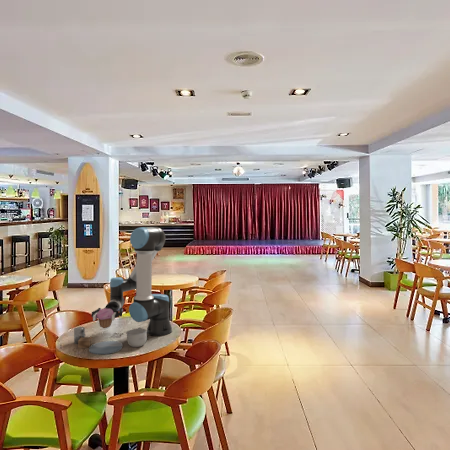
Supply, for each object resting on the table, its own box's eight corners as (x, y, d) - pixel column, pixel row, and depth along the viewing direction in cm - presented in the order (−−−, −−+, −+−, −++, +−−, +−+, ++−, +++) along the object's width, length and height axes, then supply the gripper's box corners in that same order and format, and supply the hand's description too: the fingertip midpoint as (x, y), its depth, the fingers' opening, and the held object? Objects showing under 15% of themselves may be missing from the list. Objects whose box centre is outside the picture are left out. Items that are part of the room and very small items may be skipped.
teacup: (141, 349, 195) (141, 334, 194) (123, 348, 197) (122, 333, 197) (152, 340, 208) (151, 326, 208) (134, 339, 210) (134, 325, 210)
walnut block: (92, 344, 204) (92, 336, 204) (89, 347, 198) (89, 340, 198) (81, 344, 203) (81, 337, 203) (78, 348, 197) (78, 341, 197)
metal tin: (86, 340, 208) (86, 326, 208) (81, 344, 203) (81, 330, 203) (77, 340, 209) (77, 326, 209) (72, 343, 203) (72, 329, 203)
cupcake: (94, 326, 196) (93, 308, 196) (109, 323, 202) (109, 305, 202) (101, 330, 190) (101, 311, 189) (117, 327, 196) (117, 308, 195)
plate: (126, 343, 204) (126, 341, 204) (114, 355, 187) (114, 352, 187) (97, 342, 205) (97, 340, 205) (83, 353, 188) (83, 351, 188)
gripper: (131, 313, 214) (124, 324, 192) (94, 314, 213) (82, 325, 190) (131, 300, 214) (124, 310, 192) (94, 301, 213) (81, 311, 190)
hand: (103, 318), depth 191 cm, fingers closed on cupcake, 9 cm apart
